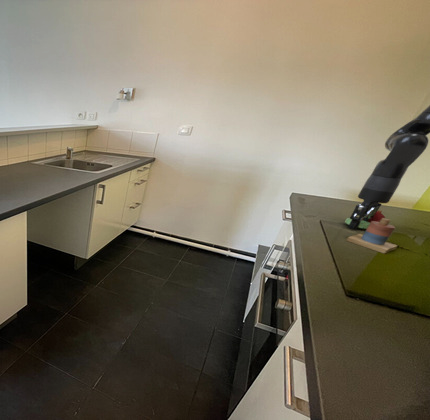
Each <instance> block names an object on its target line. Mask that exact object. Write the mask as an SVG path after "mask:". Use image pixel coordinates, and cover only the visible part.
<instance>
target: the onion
mask: <svg viewBox="0 0 430 420" xmlns="http://www.w3.org/2000/svg"><path fill="white" fill-rule="evenodd" d="M382 212H383V211H382V210H380V209H378V211H377V212H376V214H375V215H374V217H373V218H371V219H370V220H369V219H368V220H369V221H368V222H369V223H371V221H376V222H380V221H381V219H382V218H386V217H385V215H384V214H383V213H382Z"/></svg>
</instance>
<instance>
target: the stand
mask: <svg viewBox="0 0 430 420" xmlns="http://www.w3.org/2000/svg"><path fill="white" fill-rule="evenodd" d="M390 222H391V219H389V218H386V217H385V218H382V219H381V221H380V222H376V221H371V223H370V224H369V226H368V228H367V229H366V230H365V231H364V233H358V234H354V235H350V236H348V237H347V238H346V242H349V243H351V244H354V245H358V246H361V247H362V248H363V247H364V248H366V249H369V250H371V251H372V250H373V251H375V252H378V253H381V254H383V255H385V254H387V253H390V252H392V251H394V250H396V249H397V248H398V245H397V244H395V243H391V242H387V241H388V240H389V238H390V237H391V235H392V233H393V232H394V230H395V229H396V226H394V225H392V224H389V223H390Z"/></svg>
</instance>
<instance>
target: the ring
mask: <svg viewBox="0 0 430 420" xmlns="http://www.w3.org/2000/svg"><path fill="white" fill-rule="evenodd" d="M351 221H352V220H351V219H350V217H347V218H346V219H345V220H344V223H345V224H347V225H349V224H350V222H351ZM369 224H370V223H369V222H366V221H363V220H362V221H361V223H360V224H359V226H358V228H359V229H367V228H368V226H369Z"/></svg>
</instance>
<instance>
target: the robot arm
mask: <svg viewBox="0 0 430 420" xmlns="http://www.w3.org/2000/svg"><path fill="white" fill-rule="evenodd" d="M429 134H430V104H429V105H428V106H427V107H426V108H424V109H423V110H422V111H421V112H420V113H419V114H418V115H417V116H416V117H415V118H413V119H412V120H410V121H409V122H407V123H405V124H404V125H403V126H401V127H400V128H398V129H397V130H396V131H394V132H393V133H392V134H390V135H389V136H388V138H387V139H386V140H385V142H384V149H386V150H387V151H388V152H389V153H388V155H387V156H386V157H385V159H380V160H379V161H378V162H377V163H376V164H375V167H374V168H373V170H372V172H371V174H370V175H369V177H368V178H367V179H366V181H365V183H364V184H363V186H362V187H361V190H360V191H359V193H358V195H357V198H358V199H360V200H363V201H362V202H361V203H359V204H356V205H355V207H354V209H353V211H352V213H351V216H349V218H350V219H351V220H352V221H351V222H350V224H348V226H347V228H348V229H351V230H354V231H356V230H357V229H358V228H359V227H358V226H359V224H360V223H361V221H362V220H363V221H366V222H368V221H369V220H370V219H371V218H373V217H374V215H375V214H376V212H377V211H378V210H380V207H382V204H388V203H389V202H390V201H391V199H392V197H393V195H394V194H395V193H396V191H397V189H398V187H399V186H400V183H401V181H402V179H403V178H404V175H405V174H406V173H407V171H408V169H409V167H410V166H411V165H412V164H414V163H415V162H416V161H417V159H418V158H419V157H420V156H421V155H422V154H423V153H424V152H425V151H426V149H427V147H428V145H429V143H430V142H429V138H428V136H427V135H429ZM368 219H369V220H368Z"/></svg>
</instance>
